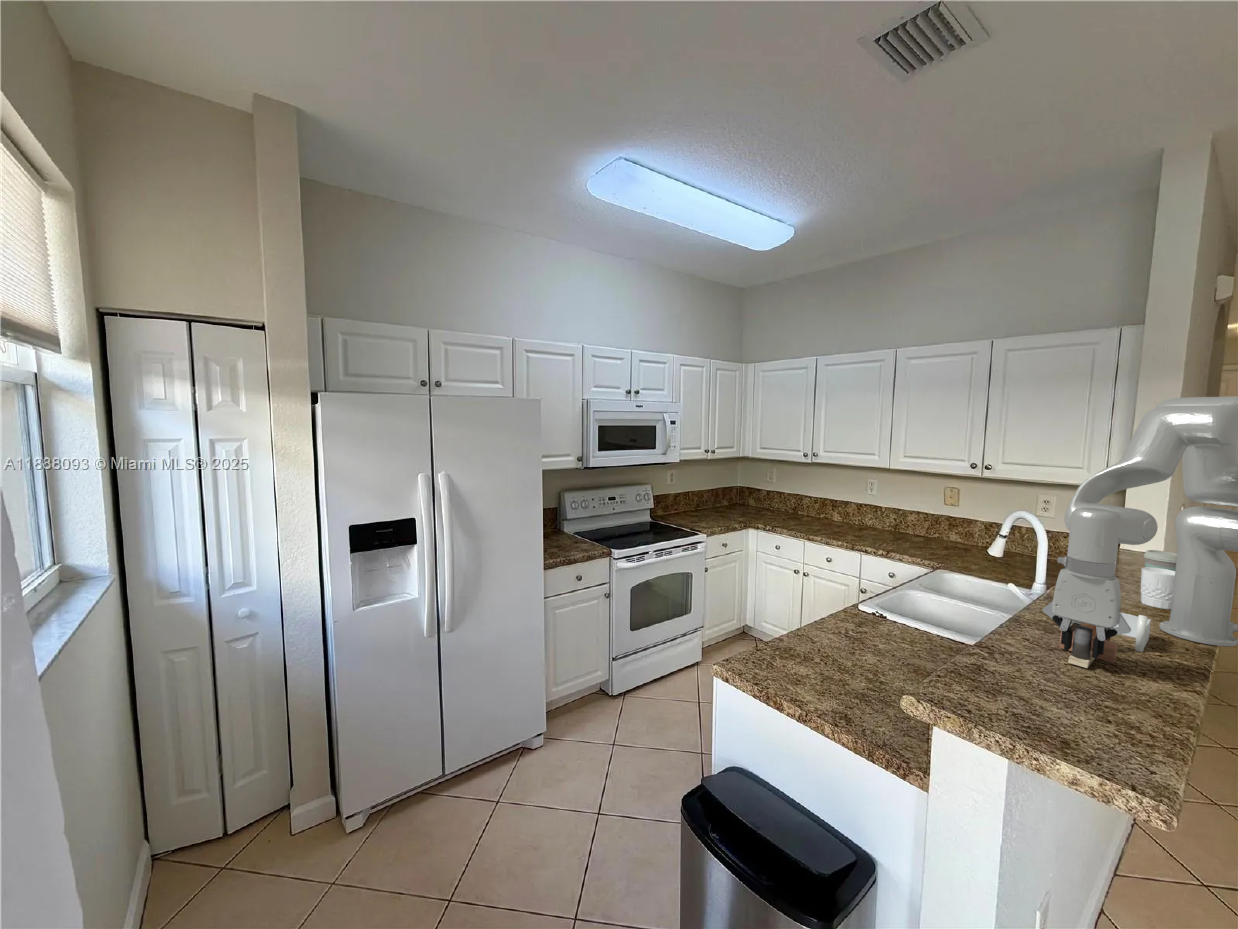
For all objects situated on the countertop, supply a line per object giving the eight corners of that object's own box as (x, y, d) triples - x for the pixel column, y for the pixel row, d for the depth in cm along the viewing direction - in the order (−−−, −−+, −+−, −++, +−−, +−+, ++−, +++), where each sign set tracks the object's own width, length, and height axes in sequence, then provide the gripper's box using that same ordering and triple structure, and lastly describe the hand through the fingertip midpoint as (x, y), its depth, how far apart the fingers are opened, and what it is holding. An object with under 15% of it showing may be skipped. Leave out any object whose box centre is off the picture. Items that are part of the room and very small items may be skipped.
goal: (1143, 652, 114) (1147, 617, 113) (1058, 630, 125) (1062, 598, 125) (1149, 640, 121) (1153, 607, 120) (1069, 620, 132) (1072, 590, 131)
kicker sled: (1107, 674, 102) (1111, 637, 102) (1050, 657, 109) (1053, 623, 109) (1115, 661, 108) (1119, 626, 108) (1060, 645, 115) (1064, 613, 115)
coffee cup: (1173, 589, 160) (1178, 552, 158) (1184, 597, 152) (1189, 558, 151) (1135, 584, 164) (1139, 548, 163) (1144, 591, 157) (1149, 553, 156)
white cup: (1168, 603, 147) (1172, 569, 146) (1184, 612, 140) (1188, 576, 139) (1132, 598, 150) (1136, 565, 149) (1146, 607, 143) (1150, 572, 142)
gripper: (1034, 561, 110) (1026, 643, 111) (1144, 581, 97) (1134, 673, 98) (1044, 556, 114) (1036, 634, 116) (1150, 574, 101) (1140, 662, 103)
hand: (1081, 651), depth 107 cm, fingers open, 3 cm apart
